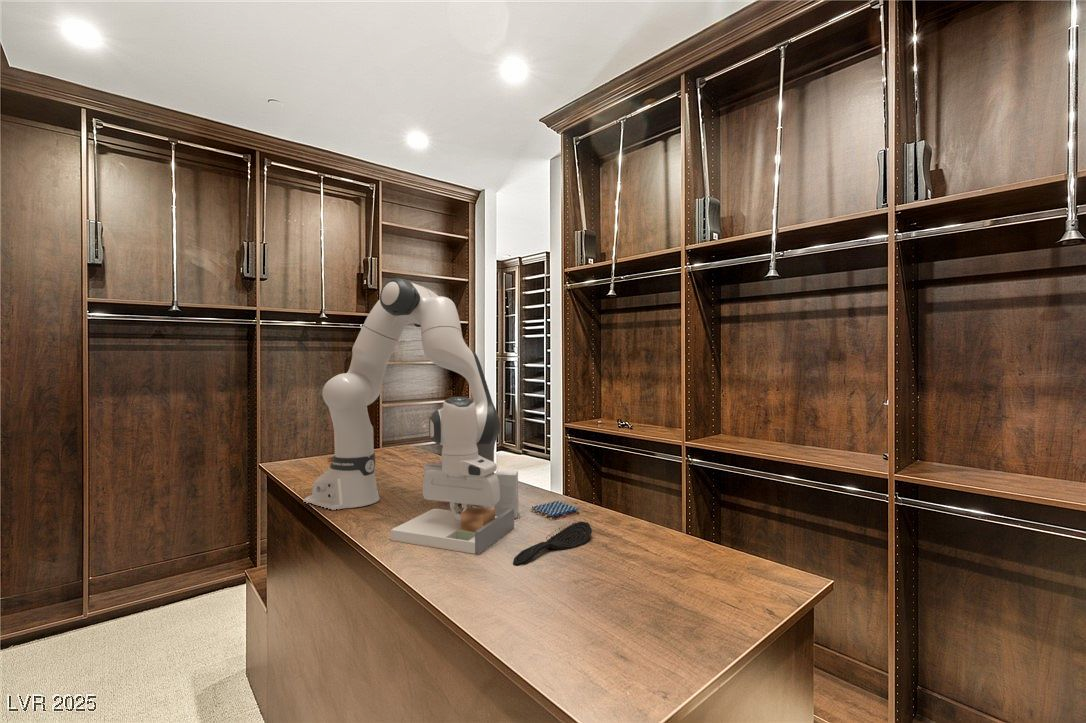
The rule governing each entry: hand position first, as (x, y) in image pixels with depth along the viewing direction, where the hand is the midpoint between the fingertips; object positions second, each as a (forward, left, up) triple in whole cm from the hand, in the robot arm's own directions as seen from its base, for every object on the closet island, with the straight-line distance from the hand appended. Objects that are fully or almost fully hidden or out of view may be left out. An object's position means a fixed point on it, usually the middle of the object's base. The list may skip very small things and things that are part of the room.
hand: (460, 520), depth 124 cm
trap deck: (-2, 0, -4) cm, 4 cm away
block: (+5, 0, -1) cm, 5 cm away
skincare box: (+4, +17, -4) cm, 18 cm away
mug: (-12, +26, -4) cm, 29 cm away
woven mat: (+15, +25, -4) cm, 30 cm away
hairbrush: (+24, +1, -4) cm, 24 cm away
